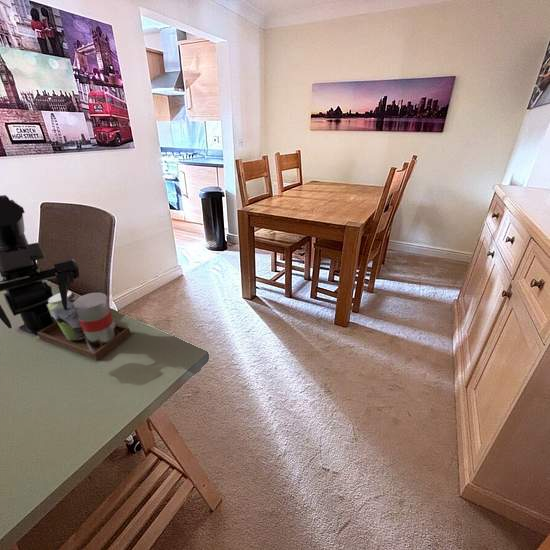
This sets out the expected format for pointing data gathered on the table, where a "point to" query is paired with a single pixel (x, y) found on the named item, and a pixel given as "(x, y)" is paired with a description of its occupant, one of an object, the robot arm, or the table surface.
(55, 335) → the drinks tray
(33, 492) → the table surface
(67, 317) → the beverage can
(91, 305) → the can
